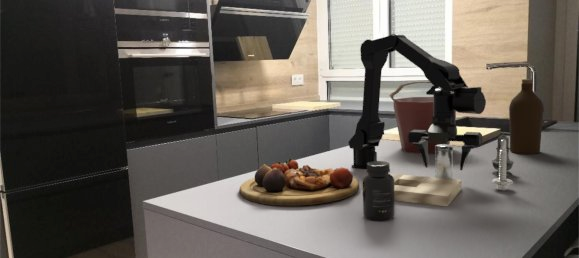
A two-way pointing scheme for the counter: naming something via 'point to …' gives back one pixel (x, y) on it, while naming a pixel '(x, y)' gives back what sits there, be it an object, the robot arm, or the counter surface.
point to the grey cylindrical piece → (444, 161)
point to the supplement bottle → (378, 192)
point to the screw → (502, 169)
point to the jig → (425, 189)
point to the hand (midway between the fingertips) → (443, 168)
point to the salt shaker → (497, 161)
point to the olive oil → (526, 120)
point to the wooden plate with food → (298, 185)
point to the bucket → (413, 117)
